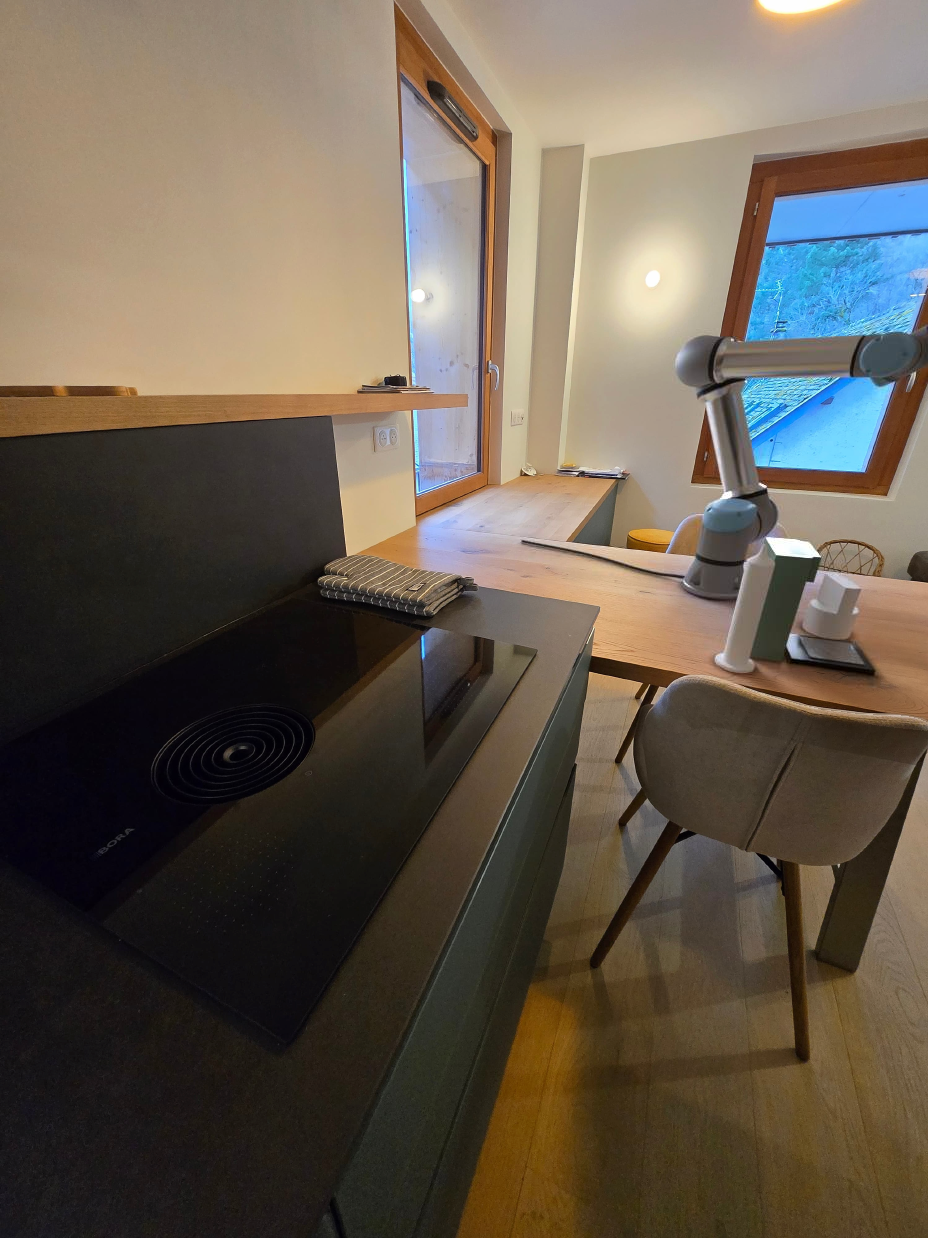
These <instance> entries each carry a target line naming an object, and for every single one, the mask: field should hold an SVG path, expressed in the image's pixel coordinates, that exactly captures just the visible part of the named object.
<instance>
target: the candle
mask: <svg viewBox="0 0 928 1238" xmlns="http://www.w3.org/2000/svg"><path fill="white" fill-rule="evenodd" d="M746 559H747V560H746V561H745V566H744V574H743V578H742V582H741V586H740V590H739V594H738V598H737V599H736V602H735V606H734V610H733V613H732V614H733V615H732V618H731V622H730V626H729V631H728V635H727V639H726V642H725V647H724V650H723V652H720V653H718V654H716V655H715V657H714V663H715V664H716V665H717V666H718V667H719V668H720V669H723V670H725V671H728V672H731V673H735V674H749V673H752V672H753V671H754V670H755V668H756V665H755V662H754V661H753V660H752V659H751V657H750V653H751V650H752V646H753V642H754V639H755V635H756V632H757V628H758V624H759V621H760V617H761V613H762V610H763V606H764V603H765V599H766V595H767V592H768V588H769V585H770V581H771V577H772V574H773V570H774V566H775V563H774V561H773V560H771V559H770V558H769V557H768V554H767V544H764V543H763V544H762V546H761V549H760V550H759V552H758V553H757V554H756V555H753V556H751V557H749V558H746Z"/></svg>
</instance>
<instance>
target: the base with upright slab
mask: <svg viewBox="0 0 928 1238" xmlns="http://www.w3.org/2000/svg"><path fill="white" fill-rule="evenodd" d="M861 592H862V588H861V587H860V586H859V585H857V583H856V584H855V583H854V582H852V581H851V580H850V579H848V578H846V577H845V576H843V575H842V574H840V573H831V572H829V573H824V575H823V578H822V581H821V585H820V588H819V591H818V594H817V597H815V598H812V599H810V600H809V603H808V606H807V609H806V611H805V614H804V619H803V622H802V625H801V627H802V629H803V630H805V632H807V633H809V634H811V635H813V636H815V637H821V638H828V639H836V640H846V639H848V638H849V639H850V636H851V634H852V632H853V628H854V626H855V624H856V621H857V618H858V615H859V612H860V610H859V608H858V607H857V606H856V605H857V602H858V599H859V597H860V594H861Z"/></svg>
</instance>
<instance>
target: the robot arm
mask: <svg viewBox="0 0 928 1238" xmlns="http://www.w3.org/2000/svg"><path fill="white" fill-rule="evenodd" d="M674 365H675V366H674V367H675V368H674V369H675V374H676V376H677V378H678V380H679V381H680V382H681V383H682V384H684V385H685V386H687V387H691V388H694V390H695V393H696V398H697V401H698V402H699V403H701V404H703V405H704V406H705V410H706V415H707V420H708V424H709V425H708V426H709V429H710V434H711V439H712V444H713V448H714V454H715V458H716V463H717V468H718V474H719V477H720V482H721V487H722V494H721V495H720V497H719V498H718V499H716V500H713V501H711V502H710V503H708V504H707V505H706V507H705V509H704V513H703V514H702V519H701V520H702V521H701V527H700V532H699V537H698V542H697V547H696V553H695V558H694V560H693V561H692V564H691V565H690V567H689V569H688V570H687V572H686V574H685V575H683V574H674V573H668V572H667V573H665V572H660V571H653V570H651V569H646V568H642V567H638V566H634V565H631V564H627V563H624V562H622V561H617V560H615V559H611V558H608V557H604V556H601V555H597V554H593V553H589V552H585V551H580V550H575V549H571V548H568V547H567V548H566V547H562V546H556V545H551V544H546V543H541V542H540V543H539V542H535V541H530V540H525V539H521V542H520V543H522V544H528V545H531V546H538V547H542V548H548V549H554V550H557V551H564V552H568V553H572V554H577V555H582V556H585V557H590V558H593V559H599V560H602V561H605V562H608V563H612V564H614V565H619V566H621V567H624V568H627V569H630V570H633V571H637V572H642V573H645V574H649V575H654V576H658V577H664V578H665V577H666V578H675V579H681V580H682V579H683V582H682V588H683V589H684V590H685V591H686V592H688V593H690V594H692V595H695V596H697V597H701V598H704V599H710V600H717V601H733V600H737V598H738V594H739V590H740V586H741V582H742V578H743V574H744V570H745V566H744V565H745V562H746V561H745V560H746V557H747V552H748V549H749V545H750V544H752V543H754V542H756V541H757V542H758V541H760V540H762V539H765V538H766V537H767V535H769V534H770V533H771V532H772V531H773V530H774V529H775V527H776V526H777V523H778V520H779V509H778V506H777V504H776V503H775V502H774V501H773V500H772V499H771V498H770V496H769V491H768V487H767V485H764V484H762V483H761V482H760V480H759V475H758V471H757V465H756V460H755V455H754V450H753V445H752V444H753V443H752V440H751V434H750V429H749V425H748V420H747V414H746V409H745V404H744V399H743V394H742V391H743V389H744V388H745V386H746V385H747V379H801V378H802V379H811V378H812V379H814V378H815V379H816V378H818V379H819V378H821V379H822V378H870V380H871V382H872V383H873V384H874V386H876V387H877V388H883V387H885V386H888V385H890V384H892V383H896V382H899V381H900V380H902V379H903V378H905V377H907V376H909V375H911V374H914V373H916V372H918V371H920V370H922V369H925V368H926V367H928V324H927V325H925V326H923V327H920V328H919V329H917V330H915V331H913V332H911V333H907V332H904V331H890V332H888V331H887V332H885V333H872V334H856V335H840V336H839V335H837V336H836V335H835V336H817V337H799V338H781V339H779V338H778V339H765V340H764V339H763V340H745V341H744V340H742V341H740V340H738V339H736V338H735V337H732V336H728V335H727V336H726V335H725V336H723V335H722V336H721V335H720V336H716V335H708V334H703V335H698V336H696V337H693V338H691V339H689V340H688V341H686V343H685V344H684V345H683V346H682V347H681V349H680V350H679V352H678V353H677V355H676V358H675V364H674Z"/></svg>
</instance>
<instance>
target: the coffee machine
mask: <svg viewBox="0 0 928 1238" xmlns="http://www.w3.org/2000/svg"><path fill="white" fill-rule="evenodd" d="M763 541H764V542H763V545H764V544H767V554H768V557H769V558H770V559H771V560H773V561H774V563H775V566H774V570H773V574H772V577H771V581H770V585H769V588H768V592H767V595H766V599H765V603H764V606H763V610H762V613H761V617H760V621H759V624H758V628H757V632H756V635H755V639H754V642H753V646H752V650H751V653H750V657H749V658H750V659H751V658H752V659H759V660H765V661H772V662H778V663H779V662H780V663H781V662H782V661H783V658H784V655H786V657H787V660H788V662H789V664H791V665H793V664H794V665H800V666H805V667H813V668H819V669H827V670H833V671H840V672H848V673H854V674H855V673H856V674H860V675H867V676H868V675H869V676H875V673H876V672H877V670H876V669H875V667H874V666H873V664H872V663H871V662H870V660H869V659H868V657H867V655H866V654H865V653H864V652H863V650H862V649H861V647H860V646H859V644H858V643H857V642H856V641H852V640H845V639H841V640H836V639H828V638H823V637H819V636H814V635H813V636H811V635H805V634H796V633H792V628H793V626H794V622H795V618H796V616H797V613H798V609H799V606H800V603H801V600H802V596H803V594H804V590H805V587H806V585H807V583H811V584H812V583H815V580H816V577H817V573H818V572H819V571H818V570H819V568H820V564H821V561H822V557H823V556H821V554H820V553H818V551H817V550H816V549H815V548H814V547H813V545H812V544H811V543H810V542H809V541H801V540H799V539H791V538H780V537H779V538H777V537H764V540H763Z"/></svg>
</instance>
